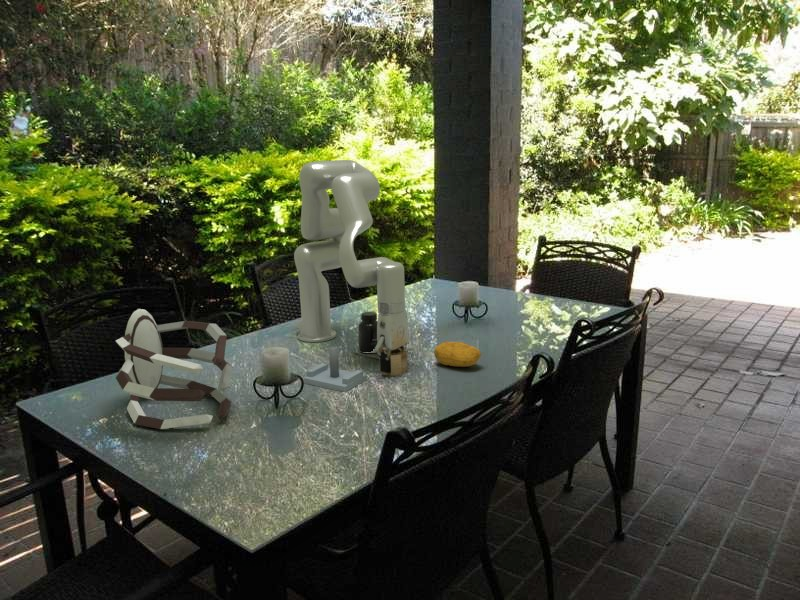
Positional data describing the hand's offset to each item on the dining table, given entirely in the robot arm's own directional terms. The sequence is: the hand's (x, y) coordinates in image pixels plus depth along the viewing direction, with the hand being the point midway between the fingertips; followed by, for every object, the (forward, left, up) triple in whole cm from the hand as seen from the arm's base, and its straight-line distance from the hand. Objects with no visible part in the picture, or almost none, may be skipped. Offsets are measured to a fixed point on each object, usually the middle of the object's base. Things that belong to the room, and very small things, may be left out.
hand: (393, 367), depth 185 cm
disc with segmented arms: (-33, -48, -2) cm, 58 cm away
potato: (+14, +12, -1) cm, 18 cm away
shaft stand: (-10, -14, -1) cm, 17 cm away
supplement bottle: (-16, +12, -1) cm, 20 cm away
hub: (0, 0, -1) cm, 1 cm away
